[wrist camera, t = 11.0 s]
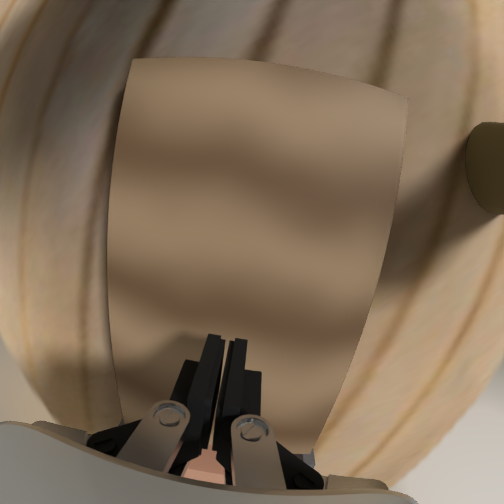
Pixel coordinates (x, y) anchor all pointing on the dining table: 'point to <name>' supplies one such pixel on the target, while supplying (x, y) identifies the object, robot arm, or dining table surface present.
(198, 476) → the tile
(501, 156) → the cork
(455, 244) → the dining table surface
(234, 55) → the dining table surface
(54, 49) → the dining table surface
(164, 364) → the board
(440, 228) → the dining table surface
